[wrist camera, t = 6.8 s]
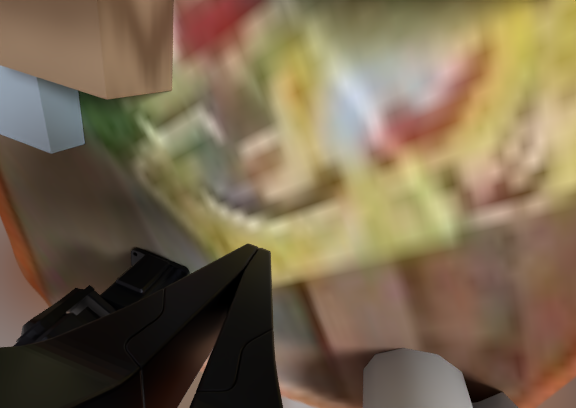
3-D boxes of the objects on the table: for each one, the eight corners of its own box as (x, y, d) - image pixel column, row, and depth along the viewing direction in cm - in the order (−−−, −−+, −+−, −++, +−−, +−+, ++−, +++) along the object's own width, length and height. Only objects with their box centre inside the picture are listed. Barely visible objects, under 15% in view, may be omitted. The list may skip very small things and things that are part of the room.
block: (173, 90, 20) (106, 99, 15) (79, 61, 21) (-14, 60, 16) (175, -51, 16) (86, -105, 11) (60, -80, 17) (-73, -142, 12)
